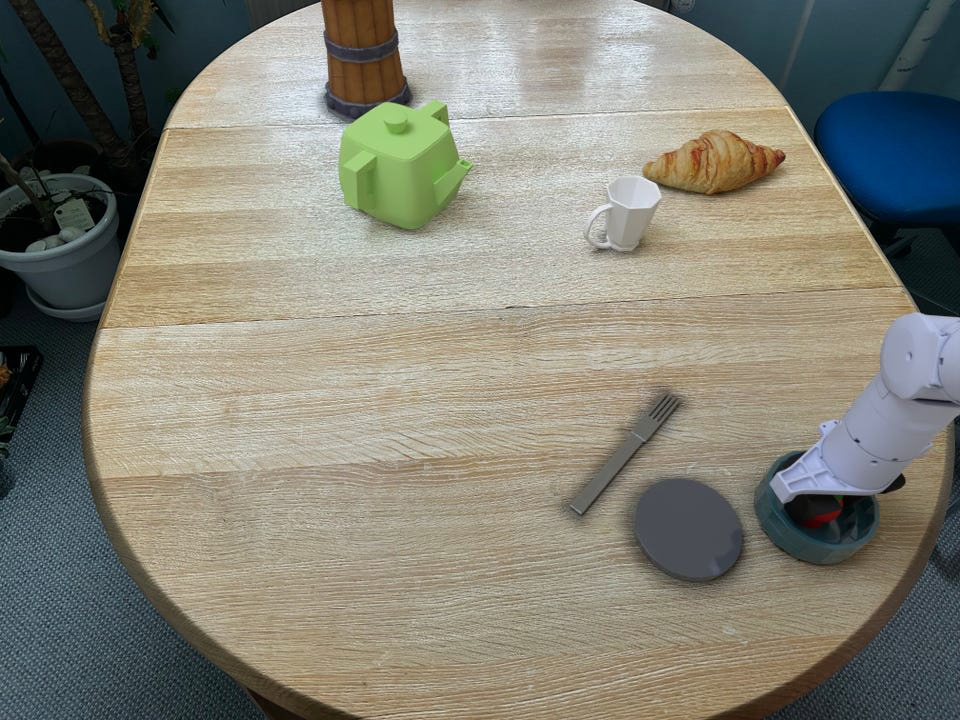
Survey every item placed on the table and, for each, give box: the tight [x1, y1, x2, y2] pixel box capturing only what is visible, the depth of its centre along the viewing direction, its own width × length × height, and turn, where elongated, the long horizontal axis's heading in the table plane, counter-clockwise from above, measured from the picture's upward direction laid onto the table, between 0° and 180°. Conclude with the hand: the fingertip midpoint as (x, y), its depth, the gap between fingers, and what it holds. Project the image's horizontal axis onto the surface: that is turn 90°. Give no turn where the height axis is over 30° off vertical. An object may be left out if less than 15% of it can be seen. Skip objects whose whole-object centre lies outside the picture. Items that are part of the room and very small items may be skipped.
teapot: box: [337, 98, 474, 230], centre depth 88 cm, size 18×20×13 cm
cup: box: [582, 174, 663, 252], centre depth 86 cm, size 7×10×8 cm
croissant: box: [641, 128, 787, 195], centre depth 96 cm, size 21×10×8 cm, turn 100°
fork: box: [569, 391, 681, 517], centre depth 69 cm, size 18×2×1 cm, turn 139°
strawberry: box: [800, 495, 843, 529], centre depth 63 cm, size 4×4×5 cm
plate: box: [632, 477, 743, 583], centre depth 64 cm, size 10×10×1 cm
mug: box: [320, 0, 414, 123], centre depth 103 cm, size 19×14×20 cm
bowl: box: [753, 449, 881, 565], centre depth 64 cm, size 10×10×4 cm
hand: (812, 507), depth 64 cm, fingers closed on strawberry, 4 cm apart
